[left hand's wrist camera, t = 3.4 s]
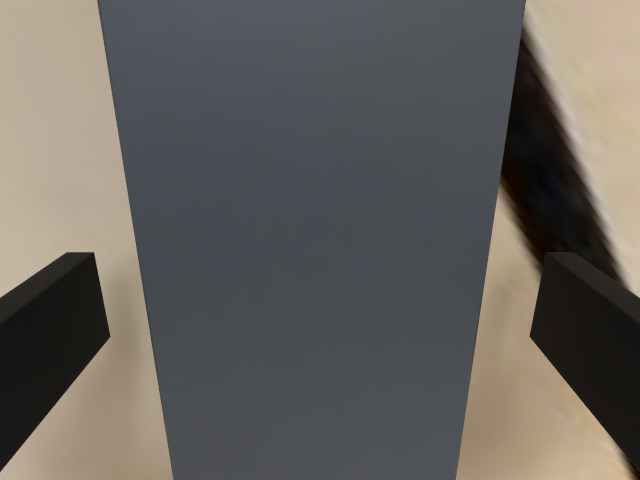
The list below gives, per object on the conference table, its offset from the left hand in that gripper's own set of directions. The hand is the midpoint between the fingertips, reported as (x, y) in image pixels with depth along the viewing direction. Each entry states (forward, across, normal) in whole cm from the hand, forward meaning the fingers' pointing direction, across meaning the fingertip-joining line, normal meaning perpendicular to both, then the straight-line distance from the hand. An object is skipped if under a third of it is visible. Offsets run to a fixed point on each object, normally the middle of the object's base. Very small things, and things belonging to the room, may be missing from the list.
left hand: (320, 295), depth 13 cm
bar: (+2, 0, -37) cm, 37 cm away
